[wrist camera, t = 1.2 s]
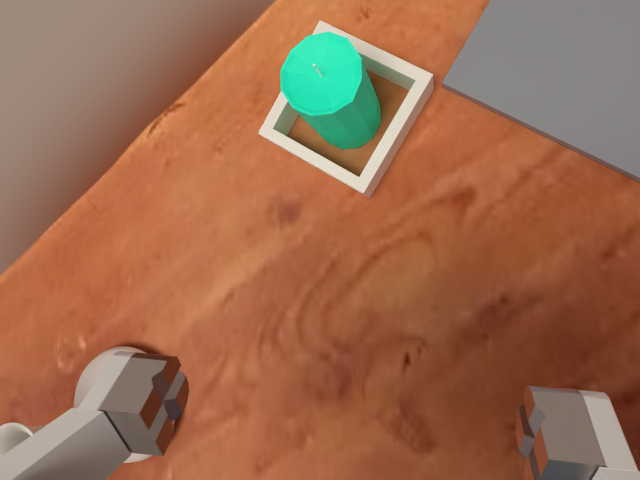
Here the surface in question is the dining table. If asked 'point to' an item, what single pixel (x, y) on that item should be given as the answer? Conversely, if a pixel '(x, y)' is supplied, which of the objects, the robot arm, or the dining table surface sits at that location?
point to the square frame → (393, 138)
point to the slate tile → (560, 73)
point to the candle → (332, 90)
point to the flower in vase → (16, 433)
